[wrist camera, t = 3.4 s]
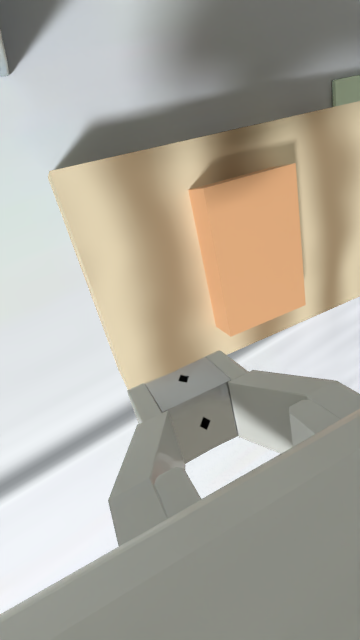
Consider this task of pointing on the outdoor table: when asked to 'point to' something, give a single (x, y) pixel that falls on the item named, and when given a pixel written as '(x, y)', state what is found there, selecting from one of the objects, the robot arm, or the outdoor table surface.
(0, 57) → the medicine box
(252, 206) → the orange rectangular block
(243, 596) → the robot arm
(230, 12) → the outdoor table surface
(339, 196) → the plate
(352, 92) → the mat
